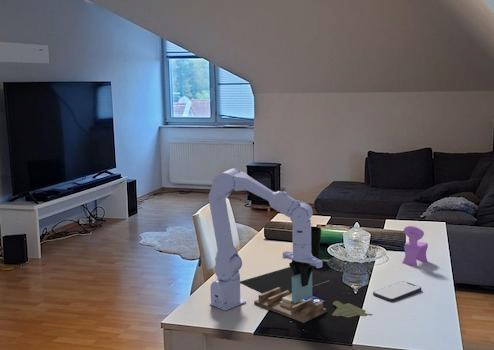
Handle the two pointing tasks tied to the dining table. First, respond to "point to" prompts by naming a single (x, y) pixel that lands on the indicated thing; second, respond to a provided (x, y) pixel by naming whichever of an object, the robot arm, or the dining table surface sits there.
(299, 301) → the offcut low
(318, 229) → the cup
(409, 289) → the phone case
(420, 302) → the dining table surface
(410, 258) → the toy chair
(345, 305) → the olive flat irregular piece
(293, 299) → the board
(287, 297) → the offcut top
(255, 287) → the tablet
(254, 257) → the dining table surface
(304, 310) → the rack
